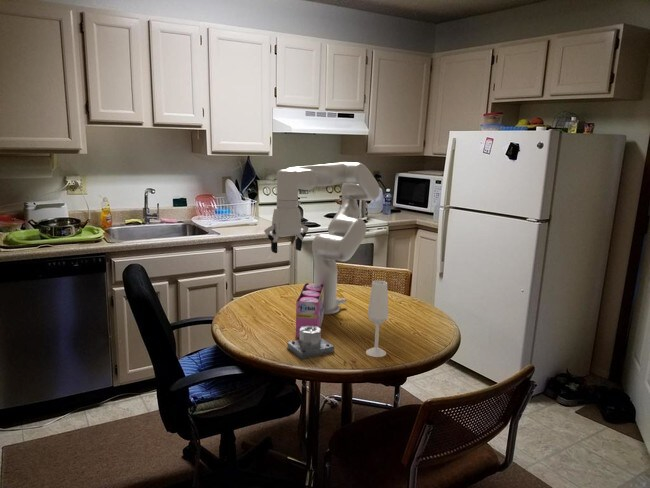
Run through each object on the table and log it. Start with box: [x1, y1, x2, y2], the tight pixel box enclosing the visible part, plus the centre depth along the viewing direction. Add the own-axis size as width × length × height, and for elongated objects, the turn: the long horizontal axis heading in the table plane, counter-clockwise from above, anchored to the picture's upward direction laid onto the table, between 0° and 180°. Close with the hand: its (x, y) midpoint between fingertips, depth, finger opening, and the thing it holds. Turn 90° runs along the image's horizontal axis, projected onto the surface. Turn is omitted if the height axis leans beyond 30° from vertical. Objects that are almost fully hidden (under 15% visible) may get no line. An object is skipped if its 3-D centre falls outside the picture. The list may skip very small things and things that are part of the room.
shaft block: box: [286, 329, 335, 360], centre depth 157 cm, size 12×10×7 cm
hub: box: [298, 325, 322, 348], centre depth 158 cm, size 7×7×5 cm
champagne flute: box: [365, 280, 389, 358], centre depth 155 cm, size 7×7×24 cm
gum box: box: [295, 282, 325, 338], centre depth 178 cm, size 24×8×14 cm, turn 174°
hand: (286, 251), depth 174 cm, fingers open, 9 cm apart
